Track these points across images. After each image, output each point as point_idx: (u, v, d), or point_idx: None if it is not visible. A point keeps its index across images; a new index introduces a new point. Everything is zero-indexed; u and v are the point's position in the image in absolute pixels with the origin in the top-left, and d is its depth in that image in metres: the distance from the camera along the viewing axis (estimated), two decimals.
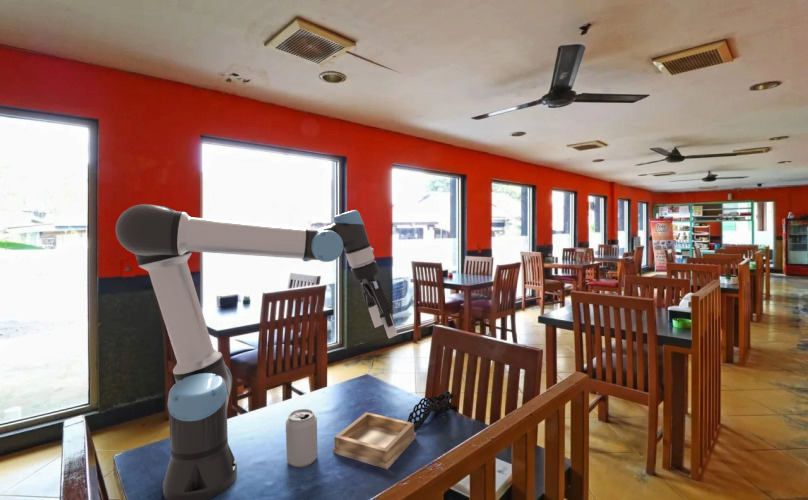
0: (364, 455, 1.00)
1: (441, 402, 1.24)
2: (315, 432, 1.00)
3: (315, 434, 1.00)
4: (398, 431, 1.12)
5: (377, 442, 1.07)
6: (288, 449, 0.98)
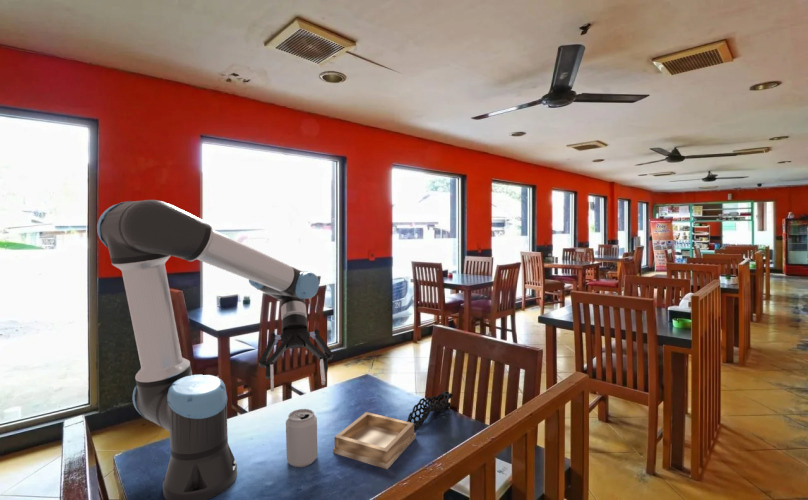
0: (364, 455, 1.00)
1: (440, 402, 1.24)
2: (315, 432, 1.00)
3: (315, 434, 1.00)
4: (398, 431, 1.12)
5: (377, 442, 1.07)
6: (288, 449, 0.98)
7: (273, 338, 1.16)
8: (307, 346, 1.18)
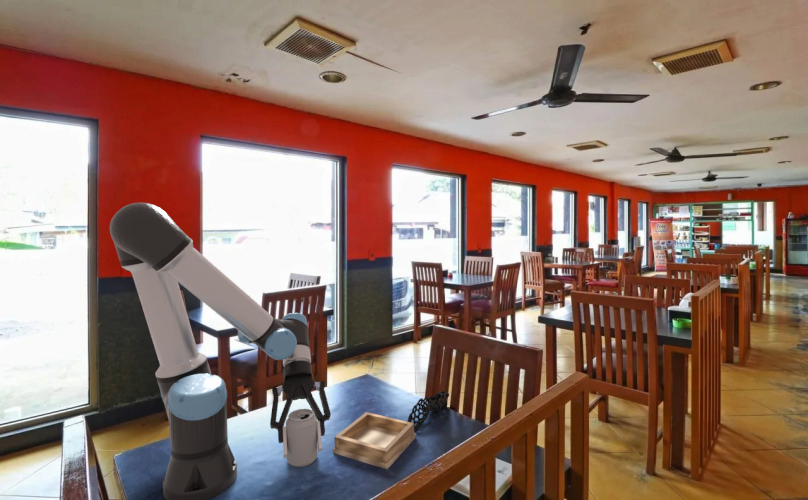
0: (364, 455, 1.00)
1: (438, 402, 1.25)
2: (315, 432, 1.00)
3: (315, 434, 1.00)
4: (398, 431, 1.12)
5: (377, 442, 1.07)
6: (288, 449, 0.98)
7: (276, 392, 1.04)
8: (308, 399, 1.06)
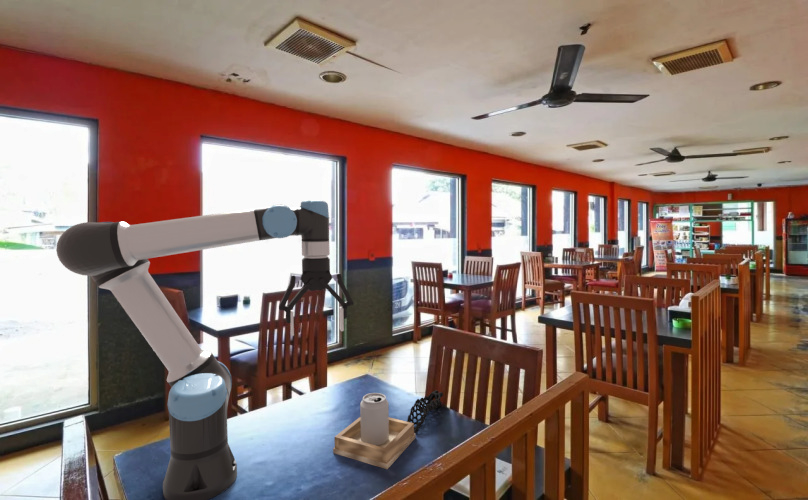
0: (364, 455, 1.00)
1: (435, 402, 1.25)
2: (387, 414, 1.06)
3: (388, 416, 1.06)
4: (398, 431, 1.12)
5: None
6: (363, 430, 1.05)
7: (293, 282, 1.09)
8: (328, 290, 1.13)
